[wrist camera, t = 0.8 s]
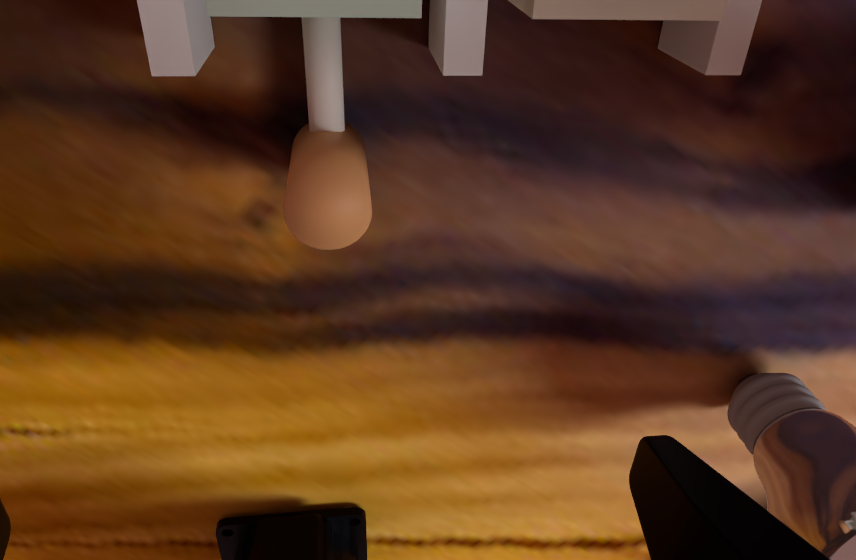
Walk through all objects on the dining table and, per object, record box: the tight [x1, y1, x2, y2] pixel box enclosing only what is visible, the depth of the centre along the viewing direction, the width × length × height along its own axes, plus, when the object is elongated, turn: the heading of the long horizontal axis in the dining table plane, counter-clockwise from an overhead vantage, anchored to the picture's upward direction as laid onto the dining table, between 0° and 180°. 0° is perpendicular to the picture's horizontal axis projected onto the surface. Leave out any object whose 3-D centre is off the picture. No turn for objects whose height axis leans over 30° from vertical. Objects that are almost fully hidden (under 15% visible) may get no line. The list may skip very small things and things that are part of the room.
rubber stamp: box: [206, 0, 422, 250], centre depth 16 cm, size 10×4×4 cm, turn 178°
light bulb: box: [728, 373, 856, 560], centre depth 23 cm, size 7×7×12 cm
